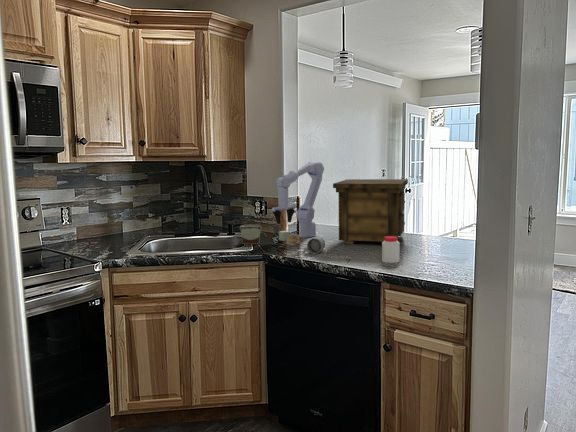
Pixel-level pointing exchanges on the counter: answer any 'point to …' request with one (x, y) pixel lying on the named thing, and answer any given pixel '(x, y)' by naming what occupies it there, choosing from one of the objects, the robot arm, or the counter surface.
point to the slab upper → (293, 237)
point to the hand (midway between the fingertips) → (284, 222)
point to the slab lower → (293, 242)
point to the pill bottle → (390, 249)
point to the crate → (370, 209)
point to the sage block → (283, 235)
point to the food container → (250, 233)
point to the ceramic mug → (315, 245)
